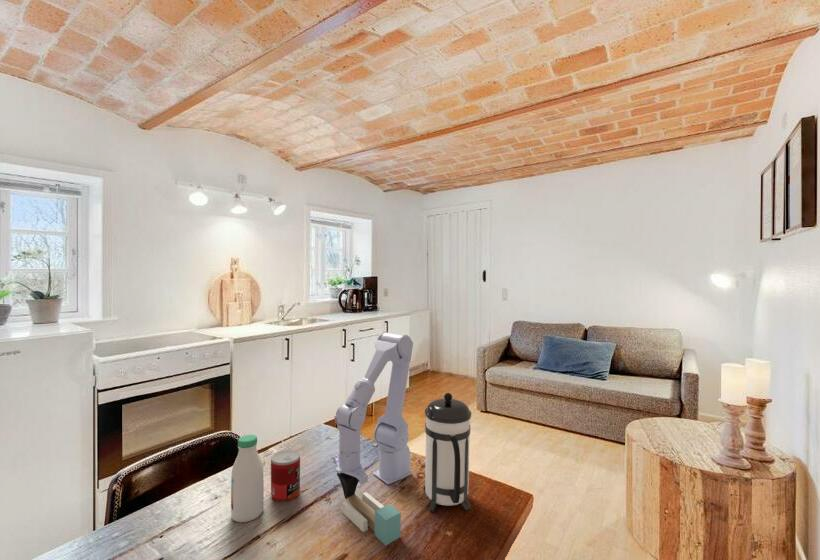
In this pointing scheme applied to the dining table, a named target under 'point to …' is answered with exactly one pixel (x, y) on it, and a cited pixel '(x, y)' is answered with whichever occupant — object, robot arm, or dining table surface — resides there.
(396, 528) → the block
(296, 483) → the canned food
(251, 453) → the milk bottle
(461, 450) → the coffee press
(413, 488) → the dining table surface
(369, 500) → the channel
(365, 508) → the rod
